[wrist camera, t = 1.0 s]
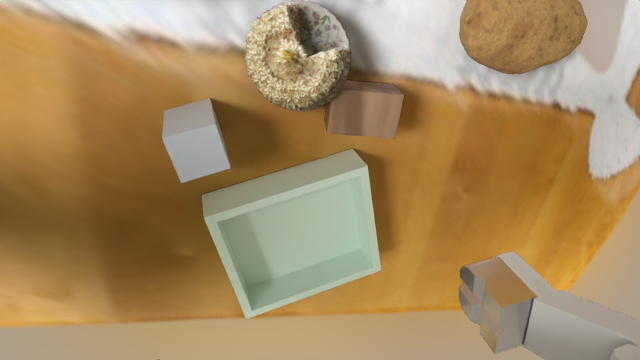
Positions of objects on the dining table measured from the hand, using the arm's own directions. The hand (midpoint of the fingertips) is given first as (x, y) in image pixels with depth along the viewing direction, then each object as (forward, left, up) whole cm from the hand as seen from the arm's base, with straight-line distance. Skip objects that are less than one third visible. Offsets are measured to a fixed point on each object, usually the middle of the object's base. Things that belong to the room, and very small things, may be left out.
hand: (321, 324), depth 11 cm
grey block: (-4, -6, -33) cm, 34 cm away
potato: (+30, -4, -34) cm, 45 cm away
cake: (+7, -2, -31) cm, 32 cm away
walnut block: (+9, -7, -31) cm, 33 cm away
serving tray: (+3, -22, -33) cm, 40 cm away
